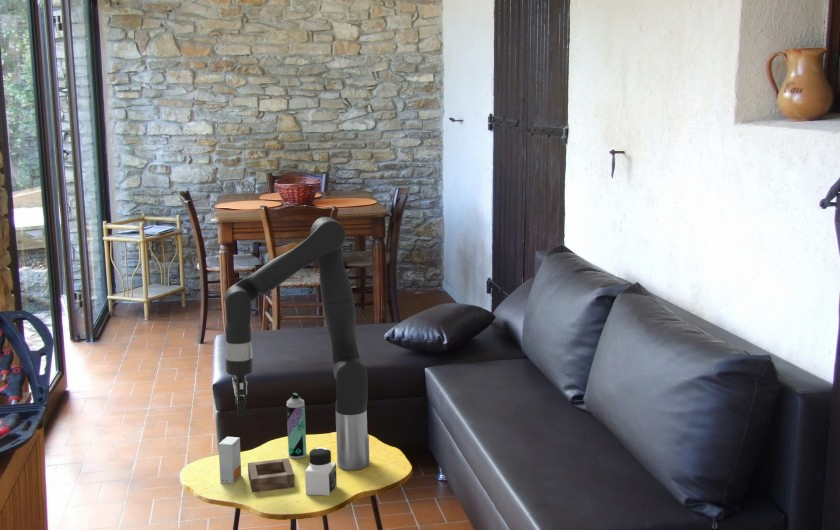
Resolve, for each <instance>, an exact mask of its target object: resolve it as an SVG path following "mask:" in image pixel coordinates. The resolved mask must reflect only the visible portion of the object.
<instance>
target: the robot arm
mask: <svg viewBox="0 0 840 530" xmlns="http://www.w3.org/2000/svg"><path fill="white" fill-rule="evenodd" d="M346 233H347V232H346V230H345V228H344V226H343V225H342V224H341V222H339V221H337V220H336V219H334V218H332V217H329V216H322V217H319V218H317V219H316V220H315V221H314V222H313V223H312V225H311V228H310V234H309V236H308V237H307V238H306V239H304V241H302V242H300V243H299V244H298V245H296V246H295V247H293V248H292V249H290V250H289V251H286V252H285V253H282V254H280V255H278V256H277V257H275V258H273V259H271V260H270V261H268V262H267V263H266V264H264V265H263V266H262V267H260V268H259V269H257V270H255V272H253V273H252V274H250V275H249V276H247V277H245V278H243V279H241V280H239V281H238V282H236V283H234V284H232V286H230V287H229V288H228V289H227V290H226V291H225V294H224V298H223V300H224V303H225V312H226V313H225V314H226V315H225V316H226V325H225V350H224V351H225V353H224V354H225V372H226V374H227V375H230V376H233V377H232V381H231V382H232V387H233V392H234V396H235V397H234V398H235V399H234V400H235V406H236V407H237V416H238V417H245V416H246V414H247V412H246V411H247V410H246V409H247V407H246V406H247V405H246V404H247V402H248V400H247V395H248V379H247V376H246V375H250V374H251V373H252V372H253V371H254V364H253V363H254V362H253V361H254V360H253V357H254V356H253V345H252V344H253V343H252V328H251V327H252V326H251V317H252V301H254V300H255V299H257V298H258V297H261V296H262V295H266V294H269V293H271V292H272V291H273V290H274V289H276V288H278V286H280V285H282V284H283V283H284V282H286V281H287V280H288V279H290V278H291V277H292V276H294V275H295V274H297V272H299V271H301V270H302V269H303V268H305V267H307V266H308V265H310V264H313V262H316V261H317V264H318V273H319V274H318V275H319V285H320V286H319V287H320V295H321V303H322V308H323V309H322V310H323V314H324V318H325V324H326V327H327V332H328V335H329V338H330V342H331V352H332V353H331V355H332V371H333V372H332V373H333V376H334V378H335V381H336V401H335V426H336V427H335V428H336V429H335V431H336V432H335V433H336V461H337V462H336V466H337V467H338V468H340V469H342V470H346V471H357V470H362V469H363V468H366V467H370V466H371V465H370V436H369V434H368V418H367V417H368V415H367V414H368V413H367V407H368V406H367V403H368V399H369V397H368V396H369V395H368V394H369V391H368V390H369V386H368V385H369V384H368V383H369V380H368V371H367V369H366V367H365V365H364V364H363V362H362V360H361V357H360V353H359V349H358V344H357V340H356V323H357V322H356V321H357V320H356V319H357V315H356V306H355V298H354V293H353V288H352V285H351V282H350V279H349V276H348V272H347V269H346V268H345V264H344V260H343V253H342V252H343V251H342V246H343V245H344V243H345V241H346V239H347V238H346V235H347V234H346Z"/></svg>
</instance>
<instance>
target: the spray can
mask: <svg viewBox="0 0 840 530" xmlns="http://www.w3.org/2000/svg"><path fill="white" fill-rule="evenodd" d="M305 406H306V405H305V400H304V399H303V398H301V397H300V396H299V393H297V392H293V393H292V395H291V397H290V398H289V399H288V400H286V427H287V446H288V447H287V449H288V458H289V459H295V460H296V459H299V460H300V459H303V458H306V456H307V435H306V408H305Z"/></svg>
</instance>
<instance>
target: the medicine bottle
mask: <svg viewBox="0 0 840 530" xmlns="http://www.w3.org/2000/svg"><path fill="white" fill-rule="evenodd" d="M308 453H309V455H308V456H309V459H308V460H309V465H307V468H306V469H305V471H304V483H305V494H306V495H308V496H309V495H310V496H325V497H330V496H331V495H332V494H333V492H334V490H335V489H336V487H337V485H338V484H337V462H335V461H334V462H333V461H332V451H331V449H329V448H326V447H316V448H313V449H311V450H310V451H309V452H308Z"/></svg>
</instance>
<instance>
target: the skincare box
mask: <svg viewBox="0 0 840 530" xmlns="http://www.w3.org/2000/svg"><path fill="white" fill-rule="evenodd" d="M241 456H242V455H241V437H236V436H226V437H225V438H223V439H222V440H221V441H220V442H219V443H218V459H219V460H218V461H219V462H218V463H219V480H220V481H219V482H220V483H221V484H232V485H233V484H235V482H237V480H238V479H239V478H240V477H242V460H241V459H242V457H241Z"/></svg>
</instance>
